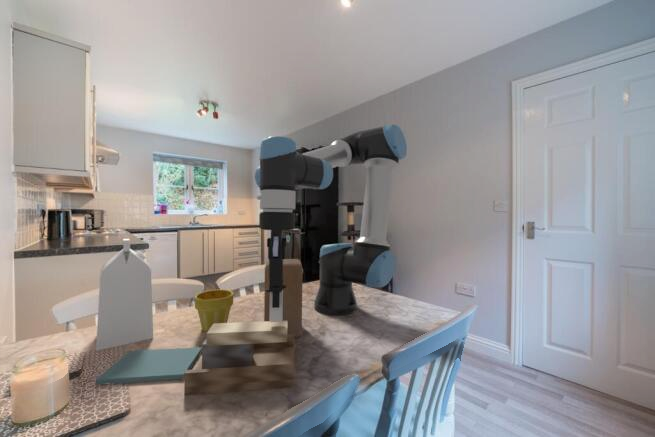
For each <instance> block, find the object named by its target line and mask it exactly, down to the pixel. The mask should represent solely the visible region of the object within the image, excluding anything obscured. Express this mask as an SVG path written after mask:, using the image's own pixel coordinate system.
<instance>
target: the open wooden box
mask: <svg viewBox="0 0 655 437" xmlns="http://www.w3.org/2000/svg"><path fill="white" fill-rule="evenodd" d="M201 347H202V352H201V359H200V361H199V363H198V364H197V366H196V368H195V369H190V370H186V372H185V375H184V379H183V380H184V383H183V386H184V390H183V391H184V392H183V393H184V394H183V395H184V396H188V395H189V396H190V395H202V394H203V395H204V394H205V395H206V394H217V393H218V394H219V393H231V392H232V393H233V392H234V393H235V392H243V391H258V390H259V391H260V390H274V389H275V390H277V389H287V388H295V387H296V386H295V385H296V383H295V382H296V379H295V378H296V364H295V338H294V334H290V335H287V342H276V343H256V344H235V345H215V346H206V339H204V341H203V342H202V344H201Z"/></svg>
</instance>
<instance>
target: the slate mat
mask: <svg viewBox="0 0 655 437" xmlns="http://www.w3.org/2000/svg"><path fill="white" fill-rule="evenodd" d="M200 355H202V346H201V347H198V346H197V347H182V348H181V347H179V348H178V347H176V348H158V349H137V350H136V349H135V350H128V352H127V353H125V354H124V355H123V356H122V357H121V358H119V359H118V360H116V362H115V363H113V364H112V365H111V366H110V367H109V368H107V369H106V370H105V371H103V373H102V374H100V375H99V376H97V377H96V378H95V385H94V386H96V384H100V385H106V384H105V383H115V384H127V383H128V384H129V383H143V382H144V383H146V382H157V381H158V382H160V381H172V380H174V381H176V380H184V375H185V372H186V370H192V368H193V366H194V364H195V362H197V360H198V358H199V357H200Z"/></svg>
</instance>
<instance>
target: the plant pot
mask: <svg viewBox="0 0 655 437" xmlns="http://www.w3.org/2000/svg"><path fill="white" fill-rule="evenodd" d="M233 305H234V291H232V290H229V289H221V288H220V289H218V288H217V289H210V290H206V291H205V290H204V291H201V292H199V293H197V294H196V295H195V296H194V309H195V310H196V311H197V314H198V317H199V322H200V328H201V330H202V331H203V332H206V333H207V332H208V331H209V329H210V328H211V326H212V325H213V324H214V323H228V321H229V316H230V311H231V307H232V306H233Z"/></svg>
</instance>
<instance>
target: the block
mask: <svg viewBox="0 0 655 437" xmlns="http://www.w3.org/2000/svg"><path fill="white" fill-rule="evenodd" d="M303 272H304V271H303V265H302V262H301V260H300V259H298V258H284V259H283V283H282V284H283V285H286V288H283V316H282V321H288V330H287V335H290V334H294V339H296V338H297V339H298V338H300V337H302V333H303ZM267 288H269V259H267V260H266V263H265V267H264V306H263V307H264V308H263V309H264V311H263V312H264V313H263V314H264V316H263V319H264V320H263V322H264V321H269V309H270V292H266V290H267Z"/></svg>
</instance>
